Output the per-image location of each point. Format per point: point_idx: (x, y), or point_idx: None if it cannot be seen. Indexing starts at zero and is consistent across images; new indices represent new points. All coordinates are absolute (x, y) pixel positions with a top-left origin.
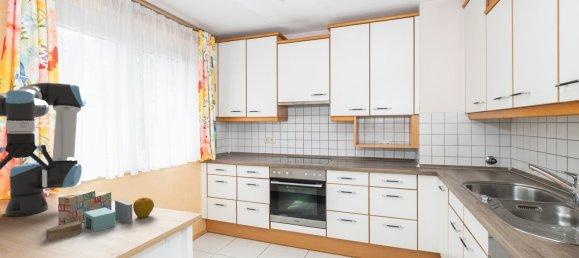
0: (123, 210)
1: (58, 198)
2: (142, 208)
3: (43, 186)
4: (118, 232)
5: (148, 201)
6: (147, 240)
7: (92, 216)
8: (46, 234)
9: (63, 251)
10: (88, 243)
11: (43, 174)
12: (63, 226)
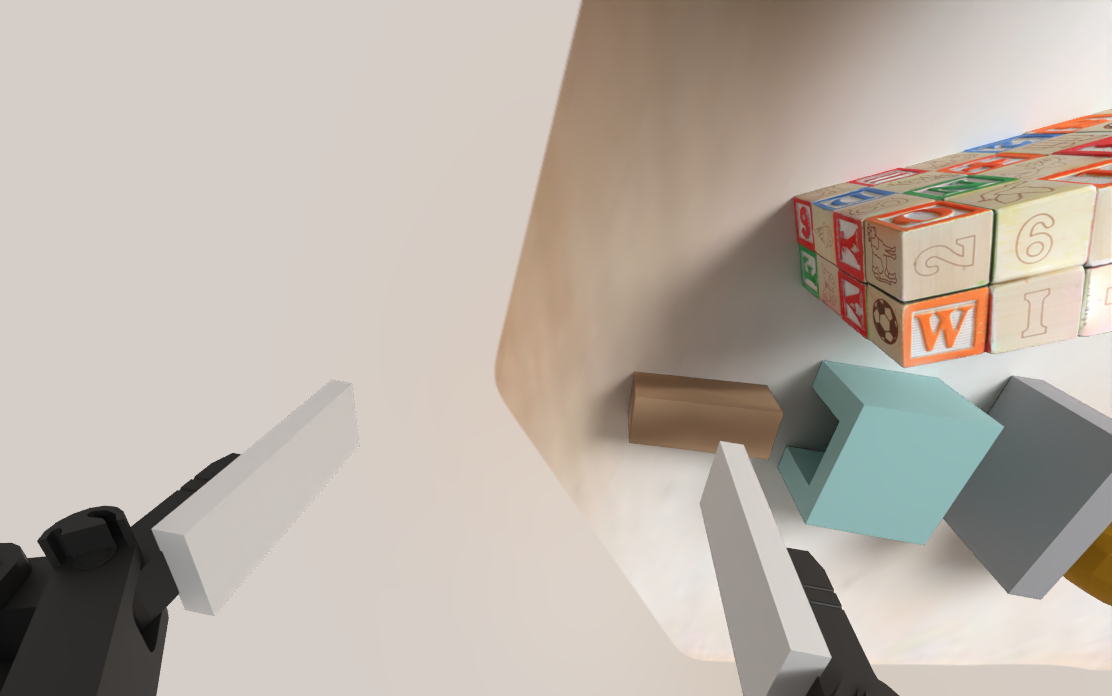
0: (1003, 515)
1: (892, 231)
2: (1064, 576)
3: (709, 477)
4: (811, 549)
5: None
6: None
7: (811, 512)
8: (634, 383)
9: (603, 531)
10: (682, 543)
11: (745, 618)
12: (694, 433)
